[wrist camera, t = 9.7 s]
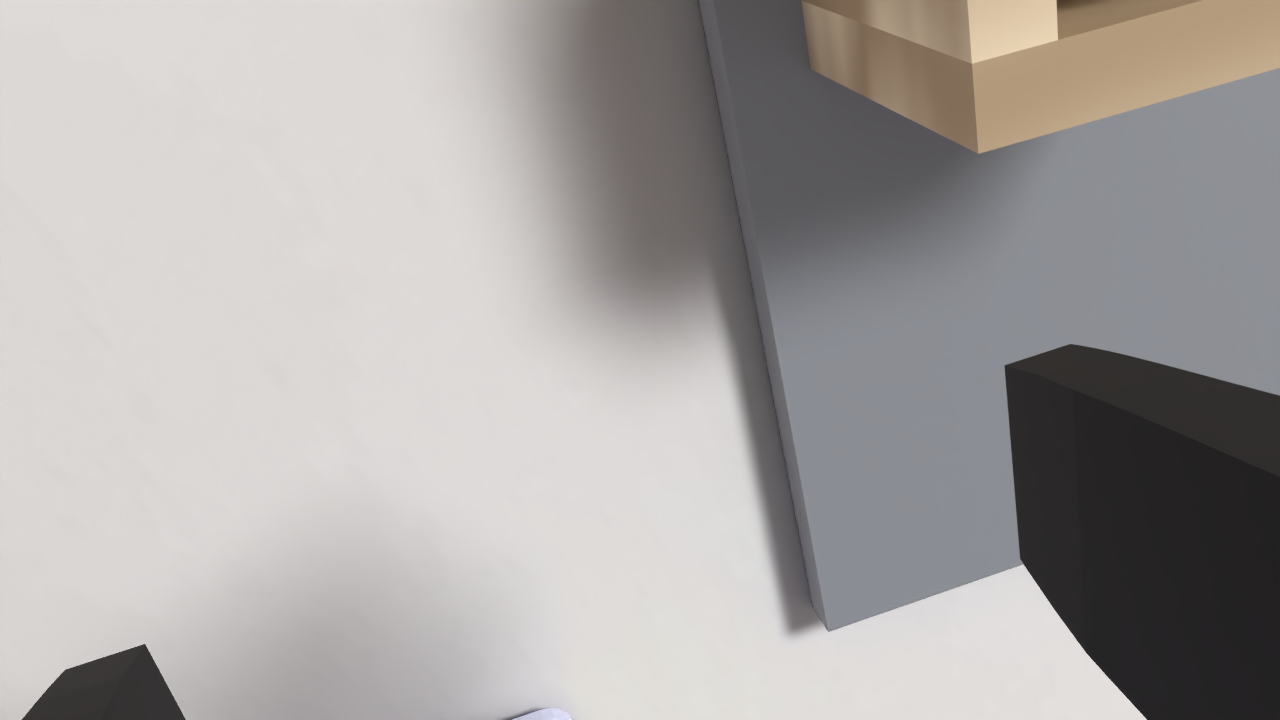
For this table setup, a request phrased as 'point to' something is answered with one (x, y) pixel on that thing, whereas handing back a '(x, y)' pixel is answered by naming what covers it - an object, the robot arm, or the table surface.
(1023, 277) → the slate board
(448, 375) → the table surface
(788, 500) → the table surface
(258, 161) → the table surface
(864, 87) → the birch collar
